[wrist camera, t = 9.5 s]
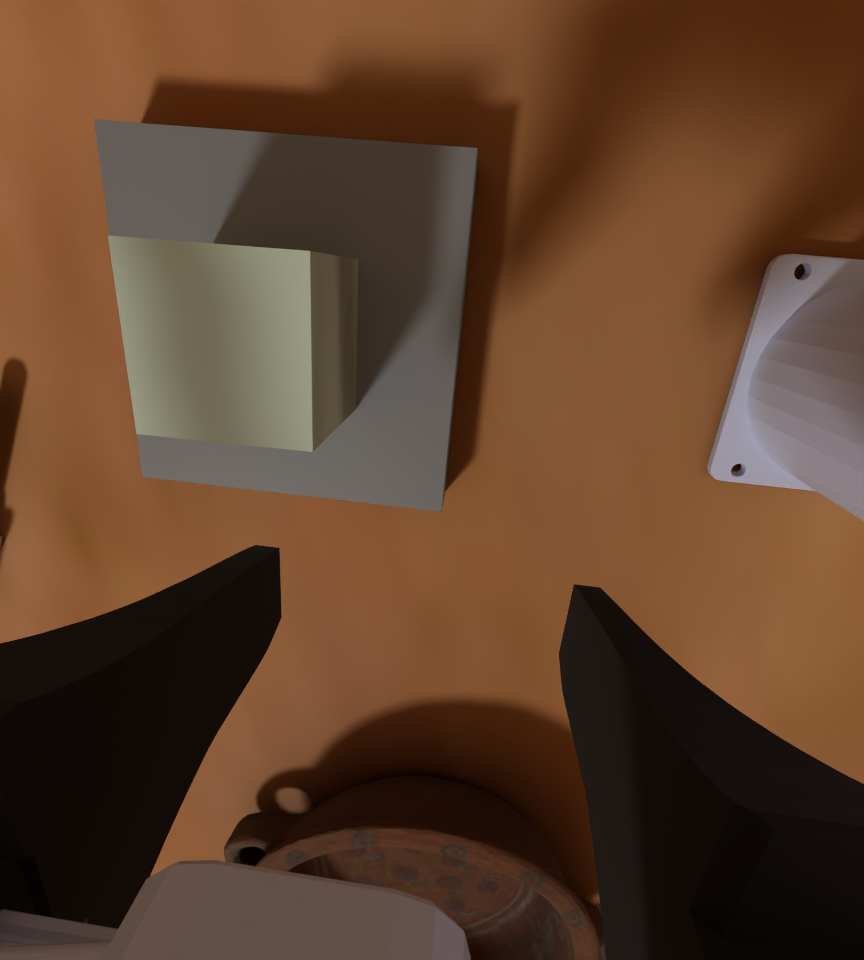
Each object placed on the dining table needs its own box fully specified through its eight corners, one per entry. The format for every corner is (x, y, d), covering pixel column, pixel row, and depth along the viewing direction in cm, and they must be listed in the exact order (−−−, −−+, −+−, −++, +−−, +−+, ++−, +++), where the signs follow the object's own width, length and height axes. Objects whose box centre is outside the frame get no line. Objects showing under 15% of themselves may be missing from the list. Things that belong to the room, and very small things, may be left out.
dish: (266, 689, 27) (220, 774, 22) (669, 803, 27) (707, 911, 22) (229, 888, 33) (188, 985, 29) (554, 979, 33) (566, 1091, 29)
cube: (358, 259, 17) (310, 251, 12) (355, 409, 19) (312, 452, 14) (210, 248, 17) (107, 235, 12) (222, 396, 19) (136, 433, 14)
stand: (478, 162, 17) (477, 148, 15) (445, 491, 22) (441, 511, 20) (134, 136, 18) (94, 119, 16) (170, 460, 22) (142, 476, 20)
